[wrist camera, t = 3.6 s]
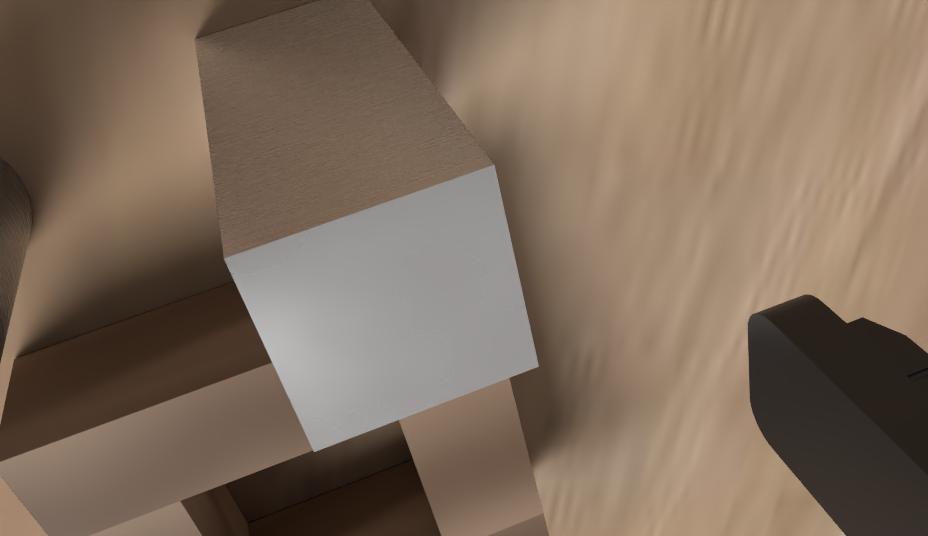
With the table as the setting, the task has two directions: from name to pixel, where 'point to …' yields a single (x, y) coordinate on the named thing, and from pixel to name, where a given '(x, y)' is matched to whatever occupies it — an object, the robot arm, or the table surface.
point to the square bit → (358, 220)
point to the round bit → (11, 241)
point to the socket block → (234, 440)
